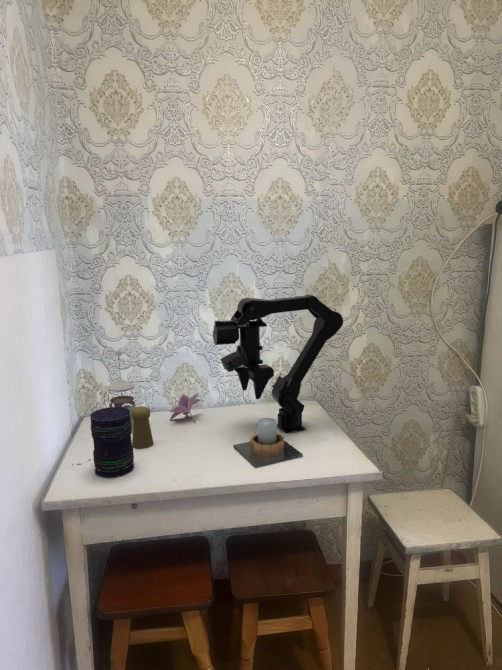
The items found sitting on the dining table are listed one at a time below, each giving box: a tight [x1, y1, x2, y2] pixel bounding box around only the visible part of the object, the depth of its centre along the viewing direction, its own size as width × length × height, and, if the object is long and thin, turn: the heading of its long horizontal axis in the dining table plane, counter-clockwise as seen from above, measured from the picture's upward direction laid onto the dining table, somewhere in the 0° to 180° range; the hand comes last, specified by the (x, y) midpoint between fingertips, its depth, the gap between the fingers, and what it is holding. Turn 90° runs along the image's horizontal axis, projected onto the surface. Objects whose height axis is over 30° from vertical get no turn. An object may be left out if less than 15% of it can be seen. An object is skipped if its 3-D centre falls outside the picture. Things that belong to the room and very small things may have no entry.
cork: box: [131, 405, 155, 450], centre depth 142 cm, size 6×6×11 cm
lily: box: [169, 392, 202, 424], centre depth 160 cm, size 12×12×10 cm
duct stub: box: [257, 417, 277, 445], centre depth 135 cm, size 5×5×8 cm
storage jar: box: [89, 406, 135, 479], centre depth 127 cm, size 10×10×15 cm
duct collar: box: [232, 433, 304, 469], centre depth 136 cm, size 14×14×4 cm
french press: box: [103, 349, 136, 435], centre depth 153 cm, size 10×12×25 cm
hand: (250, 394), depth 147 cm, fingers open, 9 cm apart
